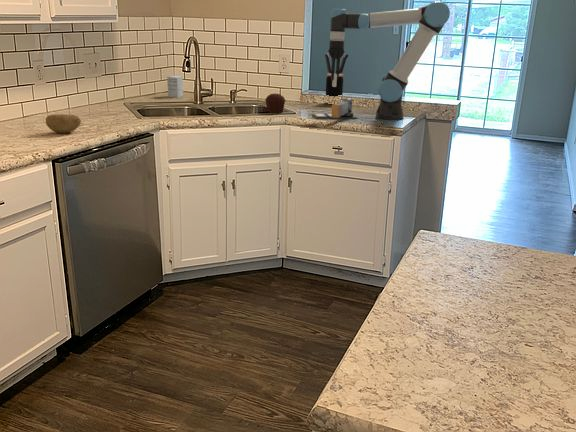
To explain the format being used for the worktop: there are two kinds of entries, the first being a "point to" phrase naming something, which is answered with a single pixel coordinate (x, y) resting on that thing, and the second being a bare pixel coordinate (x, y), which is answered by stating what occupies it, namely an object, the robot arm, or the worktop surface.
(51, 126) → the brown bowl
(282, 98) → the muffin
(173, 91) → the supplement box
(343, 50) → the robot arm
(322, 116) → the label tile
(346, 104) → the swing arm
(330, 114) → the label tile
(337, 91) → the coffee jar
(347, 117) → the pivot plinth
